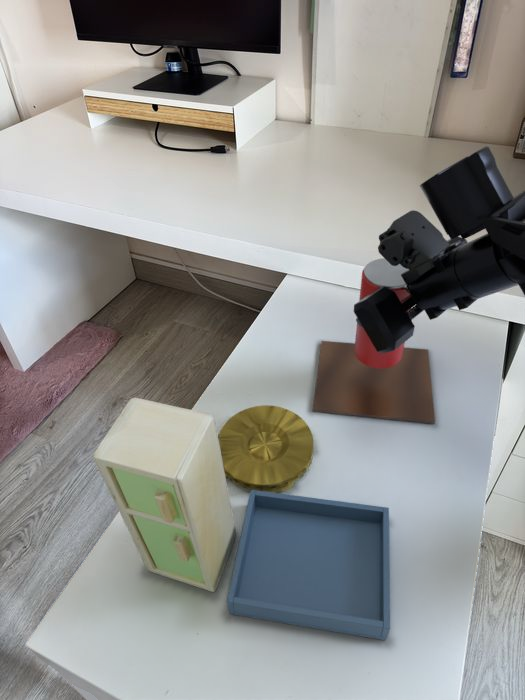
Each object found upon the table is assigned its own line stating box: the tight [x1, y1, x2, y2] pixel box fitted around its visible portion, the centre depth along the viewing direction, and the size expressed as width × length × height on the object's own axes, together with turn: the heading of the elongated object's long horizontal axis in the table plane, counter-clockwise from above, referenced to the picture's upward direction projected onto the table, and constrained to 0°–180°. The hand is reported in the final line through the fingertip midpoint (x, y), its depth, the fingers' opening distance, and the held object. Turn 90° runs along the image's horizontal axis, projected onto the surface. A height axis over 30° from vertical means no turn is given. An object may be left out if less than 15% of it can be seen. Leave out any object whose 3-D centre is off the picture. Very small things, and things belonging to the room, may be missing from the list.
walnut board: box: [312, 340, 436, 425], centre depth 72 cm, size 16×14×1 cm
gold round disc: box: [217, 405, 314, 494], centre depth 63 cm, size 12×12×2 cm
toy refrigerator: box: [92, 397, 237, 593], centre depth 47 cm, size 8×7×21 cm
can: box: [354, 257, 410, 369], centre depth 64 cm, size 6×6×13 cm
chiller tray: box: [226, 489, 391, 641], centre depth 52 cm, size 15×12×3 cm
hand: (375, 310), depth 65 cm, fingers closed on can, 6 cm apart
